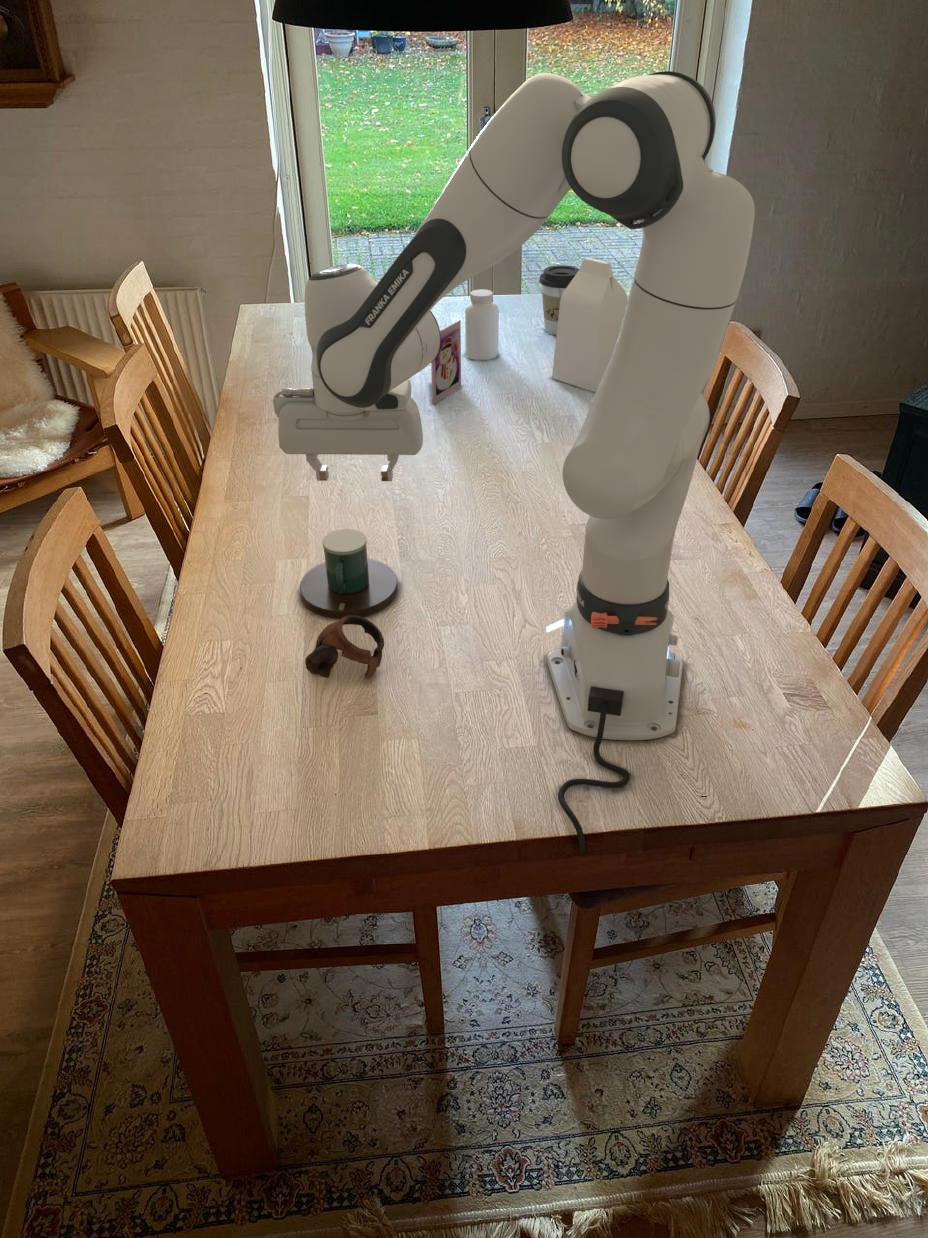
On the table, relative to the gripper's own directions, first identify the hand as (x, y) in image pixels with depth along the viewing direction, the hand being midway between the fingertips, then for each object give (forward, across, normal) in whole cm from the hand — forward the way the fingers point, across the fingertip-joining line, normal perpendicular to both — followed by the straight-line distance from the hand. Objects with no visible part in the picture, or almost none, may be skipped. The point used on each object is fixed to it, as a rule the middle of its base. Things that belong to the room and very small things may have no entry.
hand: (355, 479), depth 136 cm
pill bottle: (+18, +14, +100) cm, 102 cm away
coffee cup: (+19, +34, +117) cm, 123 cm away
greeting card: (+18, +5, +76) cm, 79 cm away
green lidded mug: (+17, -2, -3) cm, 17 cm away
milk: (+19, +39, +86) cm, 97 cm away
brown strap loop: (+19, 0, -20) cm, 28 cm away
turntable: (+19, -2, -1) cm, 19 cm away
